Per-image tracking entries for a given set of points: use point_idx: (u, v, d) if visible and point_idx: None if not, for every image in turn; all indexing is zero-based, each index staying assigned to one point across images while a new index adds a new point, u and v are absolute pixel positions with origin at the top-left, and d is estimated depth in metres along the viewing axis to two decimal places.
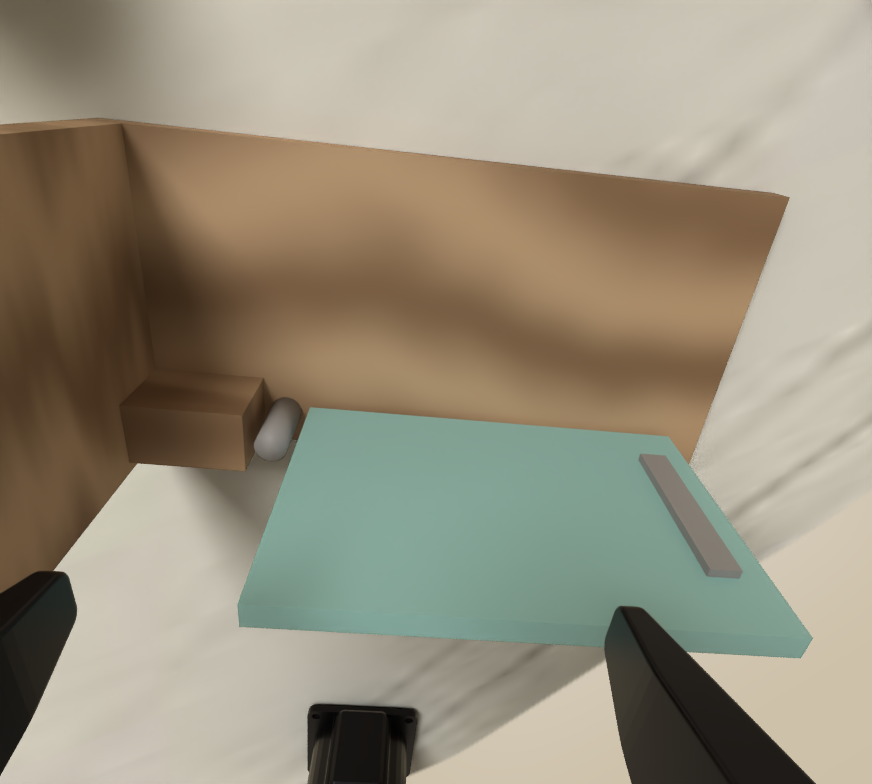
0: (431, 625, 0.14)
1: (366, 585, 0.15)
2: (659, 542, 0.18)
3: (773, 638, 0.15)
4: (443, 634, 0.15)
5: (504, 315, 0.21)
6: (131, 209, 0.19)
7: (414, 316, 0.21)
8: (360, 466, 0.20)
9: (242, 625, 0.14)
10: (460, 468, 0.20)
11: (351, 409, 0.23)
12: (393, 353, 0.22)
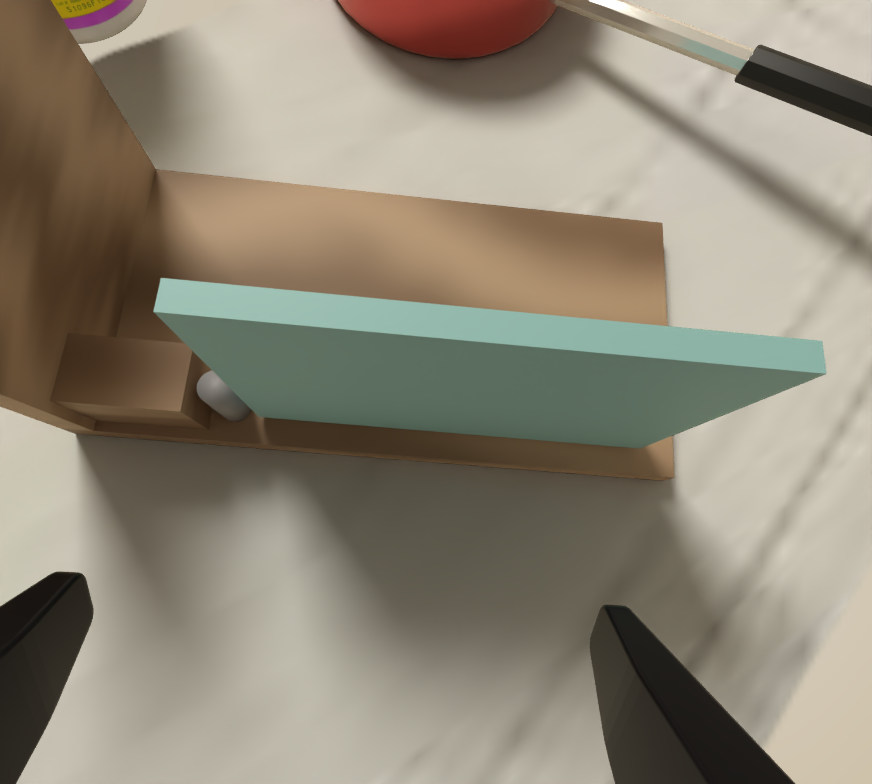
0: (384, 313, 0.12)
1: None
2: None
3: (778, 340, 0.13)
4: (398, 328, 0.12)
5: None
6: (141, 221, 0.24)
7: None
8: None
9: (158, 308, 0.12)
10: None
11: None
12: None
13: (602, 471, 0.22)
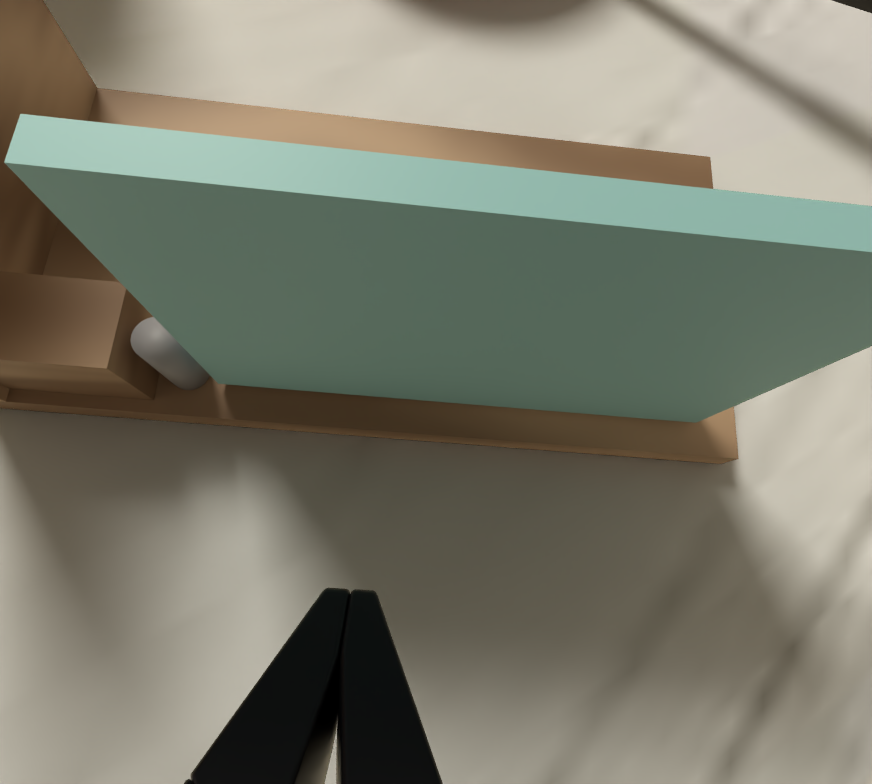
0: (373, 172, 0.08)
1: None
2: None
3: None
4: (394, 194, 0.08)
5: None
6: None
7: None
8: None
9: (11, 157, 0.08)
10: None
11: None
12: None
13: (649, 451, 0.18)
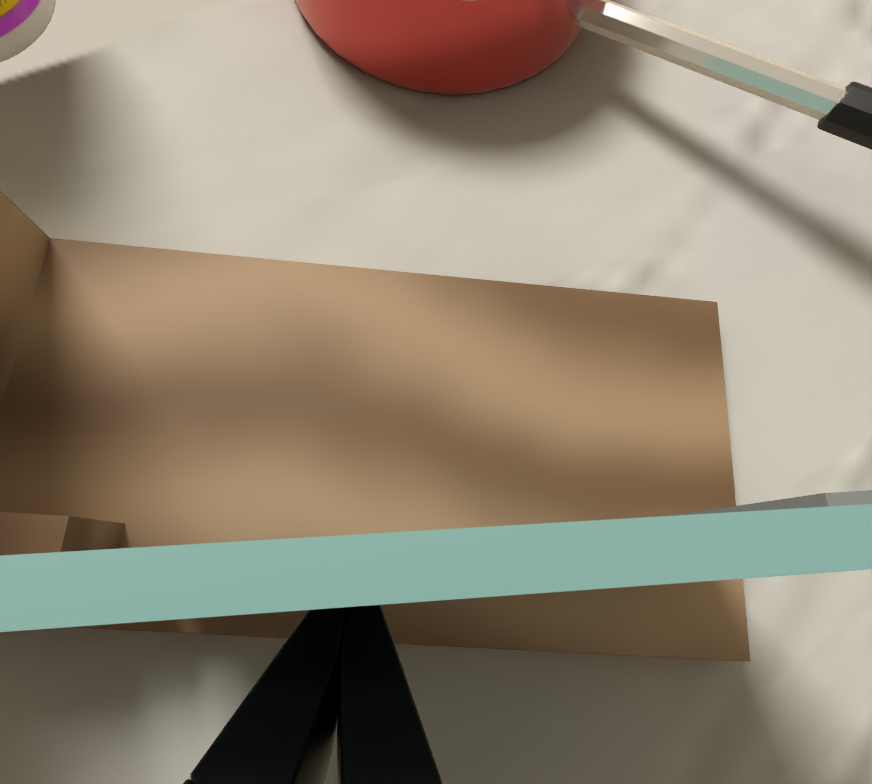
0: (321, 566, 0.07)
1: None
2: None
3: None
4: (351, 595, 0.06)
5: (449, 426, 0.18)
6: (25, 312, 0.17)
7: (339, 430, 0.17)
8: None
9: None
10: None
11: None
12: (310, 481, 0.17)
13: (653, 655, 0.16)
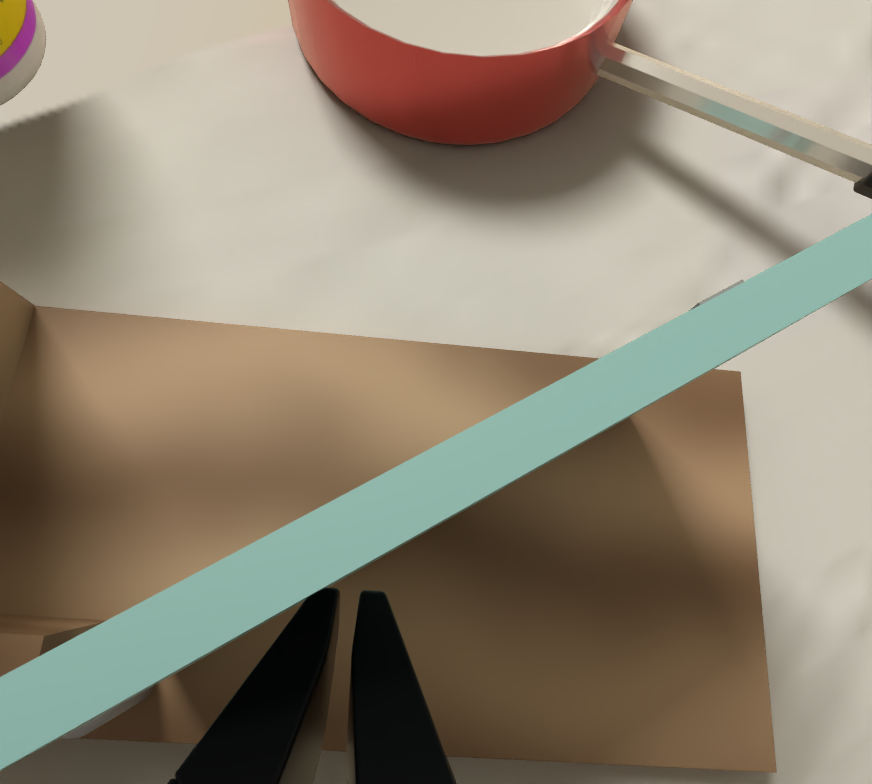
0: (249, 579, 0.06)
1: None
2: None
3: (840, 238, 0.08)
4: (291, 592, 0.06)
5: None
6: (7, 387, 0.16)
7: None
8: None
9: None
10: None
11: (236, 674, 0.15)
12: None
13: (672, 765, 0.15)
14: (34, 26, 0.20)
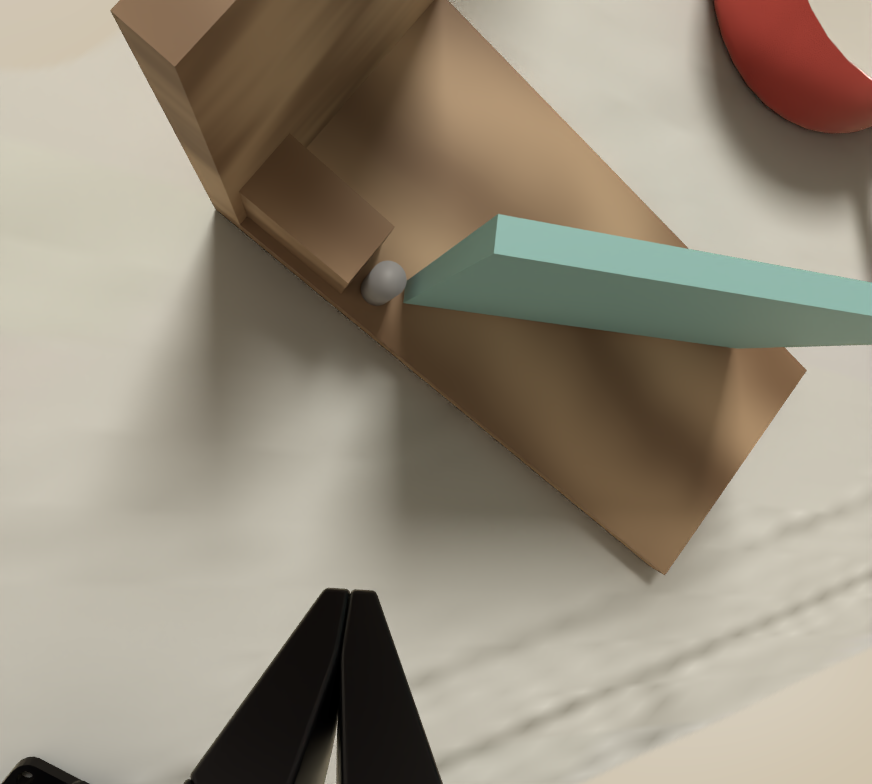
0: (700, 266, 0.13)
1: None
2: None
3: None
4: (711, 284, 0.13)
5: None
6: (396, 41, 0.21)
7: None
8: None
9: (498, 250, 0.11)
10: None
11: (434, 329, 0.22)
12: None
13: (619, 537, 0.24)
14: None
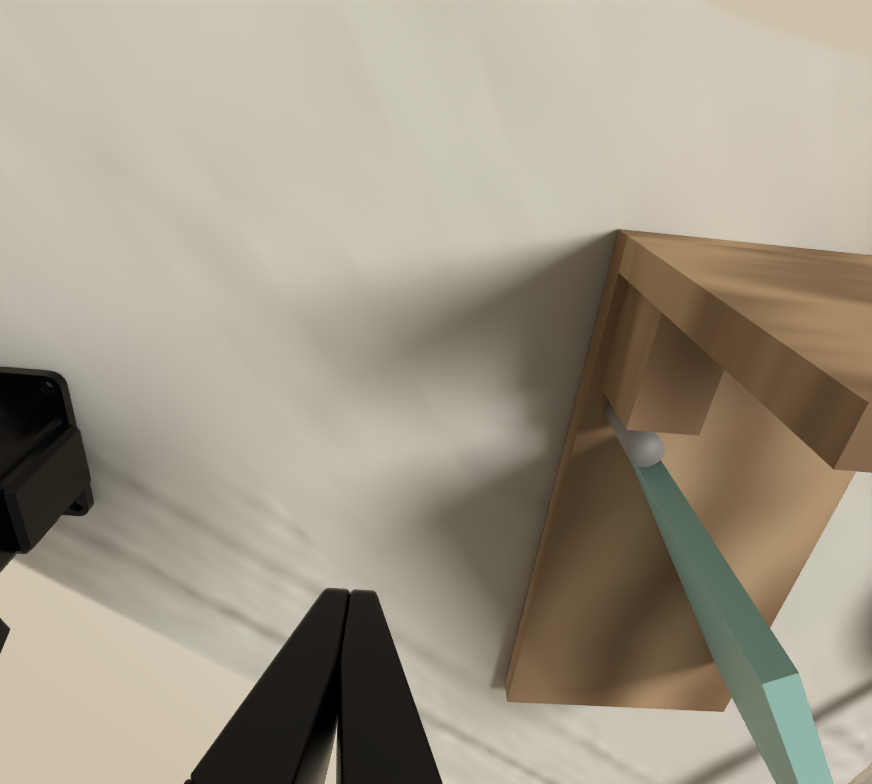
0: None
1: None
2: None
3: None
4: None
5: None
6: None
7: None
8: None
9: (766, 686, 0.12)
10: None
11: (609, 468, 0.22)
12: None
13: (517, 663, 0.28)
14: None
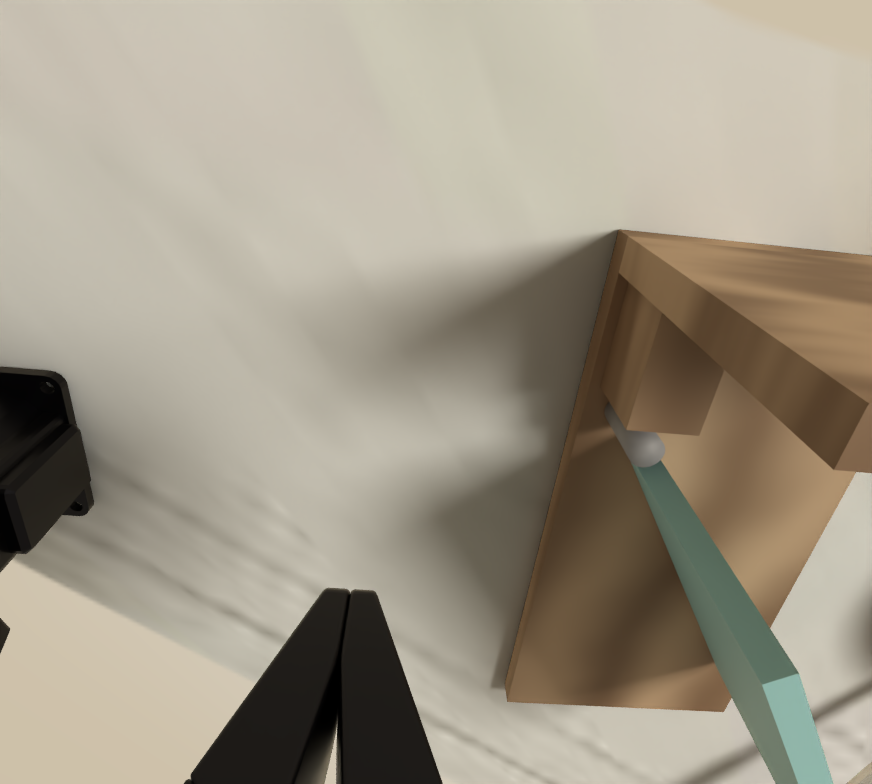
0: None
1: None
2: None
3: None
4: None
5: None
6: None
7: None
8: None
9: (766, 686, 0.12)
10: None
11: (610, 468, 0.22)
12: None
13: (517, 663, 0.28)
14: None
